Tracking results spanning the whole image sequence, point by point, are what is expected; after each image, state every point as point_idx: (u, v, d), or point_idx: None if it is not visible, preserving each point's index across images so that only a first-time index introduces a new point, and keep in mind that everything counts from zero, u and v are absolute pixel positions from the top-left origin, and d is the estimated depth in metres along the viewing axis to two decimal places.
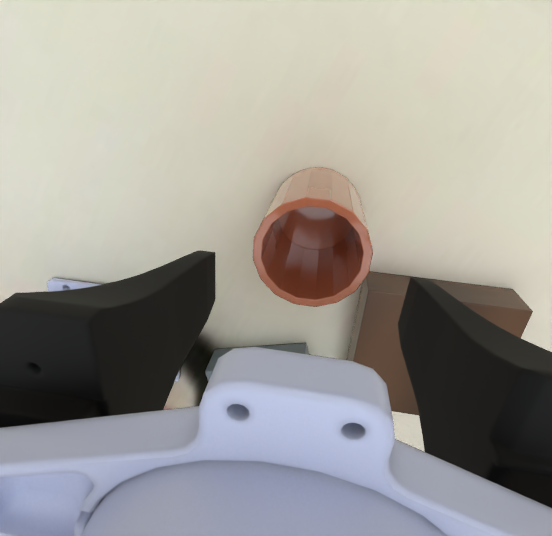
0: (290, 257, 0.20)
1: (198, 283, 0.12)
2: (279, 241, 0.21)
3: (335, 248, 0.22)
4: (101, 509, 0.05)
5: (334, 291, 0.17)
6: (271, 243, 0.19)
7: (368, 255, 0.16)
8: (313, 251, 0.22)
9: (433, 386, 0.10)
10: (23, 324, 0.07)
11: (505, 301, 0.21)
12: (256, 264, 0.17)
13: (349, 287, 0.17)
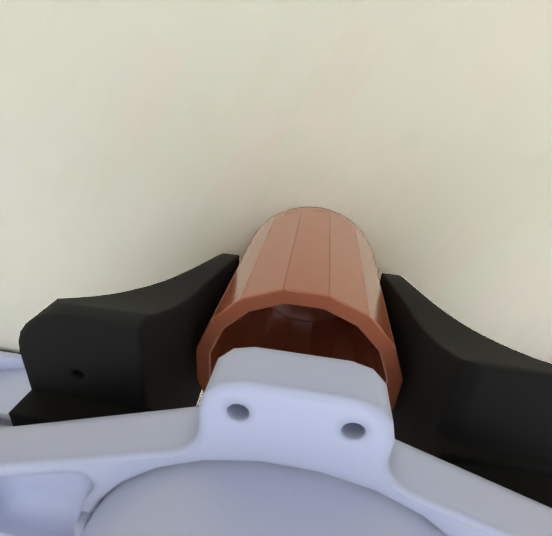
0: (268, 343, 0.14)
1: (224, 287, 0.12)
2: (253, 317, 0.14)
3: (336, 323, 0.15)
4: (101, 509, 0.05)
5: None
6: (236, 332, 0.12)
7: (394, 383, 0.09)
8: (304, 325, 0.15)
9: None
10: (69, 331, 0.06)
11: None
12: (203, 387, 0.10)
13: None
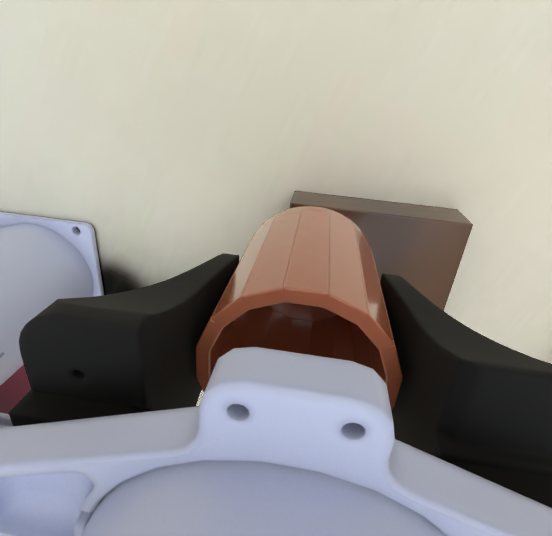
0: (268, 342, 0.14)
1: (224, 286, 0.12)
2: (253, 316, 0.14)
3: (336, 322, 0.15)
4: (101, 509, 0.05)
5: None
6: (236, 331, 0.12)
7: (394, 382, 0.09)
8: (304, 324, 0.15)
9: None
10: (70, 331, 0.06)
11: (444, 216, 0.19)
12: (202, 386, 0.10)
13: None
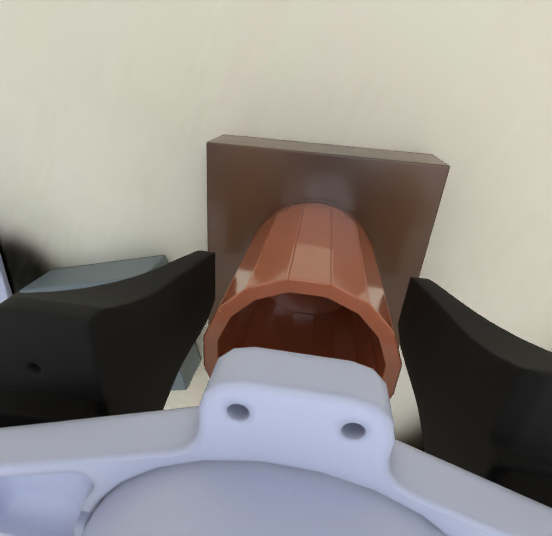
0: (271, 335, 0.14)
1: (198, 283, 0.12)
2: (256, 309, 0.14)
3: (337, 316, 0.15)
4: (101, 509, 0.05)
5: None
6: (240, 323, 0.12)
7: (393, 369, 0.09)
8: (306, 318, 0.16)
9: (433, 386, 0.10)
10: (23, 324, 0.07)
11: (413, 158, 0.14)
12: (209, 374, 0.10)
13: None
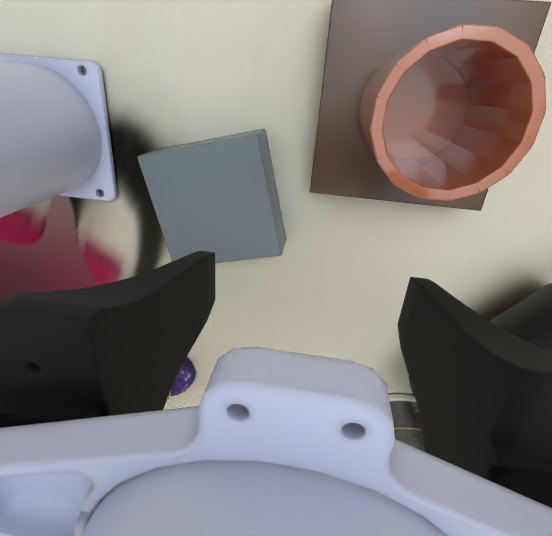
0: (390, 158, 0.16)
1: (198, 283, 0.12)
2: None
3: (440, 153, 0.17)
4: (101, 509, 0.05)
5: (474, 179, 0.13)
6: None
7: (538, 115, 0.11)
8: (409, 160, 0.18)
9: (433, 386, 0.10)
10: (23, 323, 0.07)
11: None
12: (374, 138, 0.12)
13: (502, 168, 0.12)
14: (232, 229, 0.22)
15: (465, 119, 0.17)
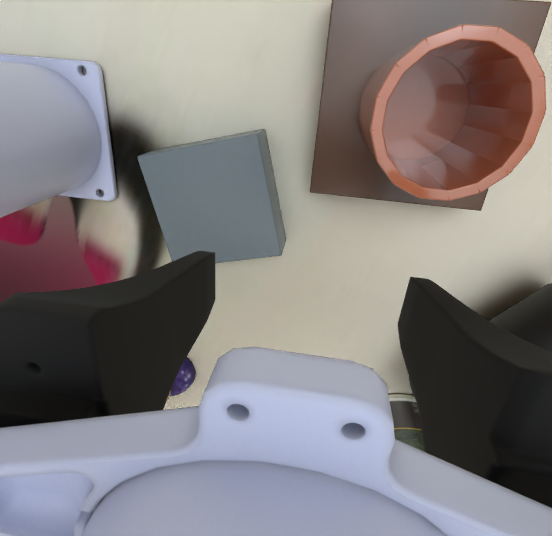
0: (390, 158, 0.16)
1: (198, 283, 0.12)
2: None
3: (440, 153, 0.17)
4: (101, 509, 0.05)
5: (474, 179, 0.13)
6: None
7: (538, 115, 0.11)
8: (409, 160, 0.18)
9: (433, 386, 0.10)
10: (23, 323, 0.07)
11: None
12: (374, 138, 0.12)
13: (502, 168, 0.12)
14: (232, 229, 0.22)
15: (465, 119, 0.17)
